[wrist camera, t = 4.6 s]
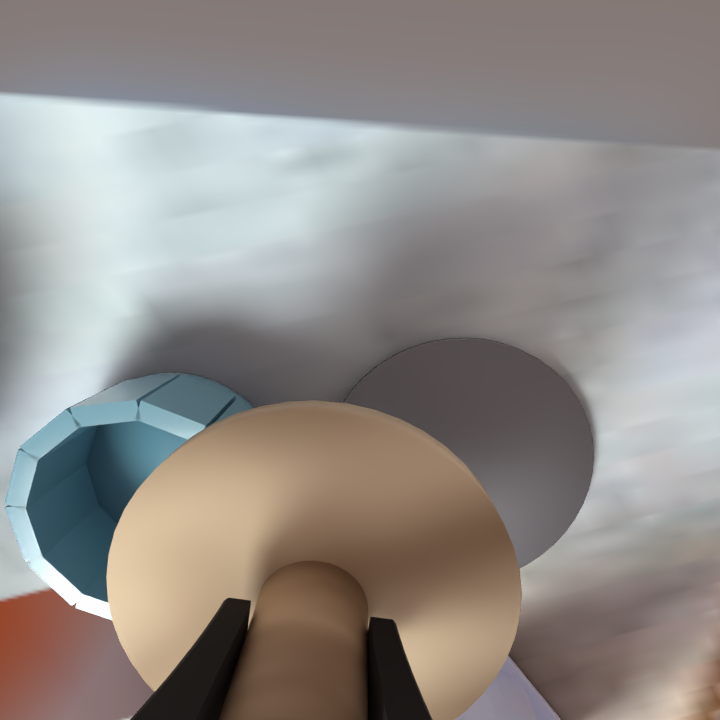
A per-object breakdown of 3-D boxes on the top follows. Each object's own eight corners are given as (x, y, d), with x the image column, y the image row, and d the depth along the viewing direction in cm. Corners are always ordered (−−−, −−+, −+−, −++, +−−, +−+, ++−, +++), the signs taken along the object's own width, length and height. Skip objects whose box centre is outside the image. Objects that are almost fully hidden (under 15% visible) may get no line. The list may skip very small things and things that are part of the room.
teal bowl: (323, 485, 20) (313, 544, 16) (178, 584, 22) (134, 662, 18) (190, 329, 19) (139, 349, 14) (41, 448, 20) (-46, 499, 16)
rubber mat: (635, 490, 20) (641, 496, 20) (422, 617, 22) (423, 625, 22) (496, 279, 18) (500, 280, 17) (271, 441, 20) (269, 446, 19)
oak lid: (580, 621, 13) (709, 839, 8) (284, 775, 15) (243, 1029, 10) (361, 315, 11) (355, 359, 6) (46, 540, 12) (-158, 716, 8)
